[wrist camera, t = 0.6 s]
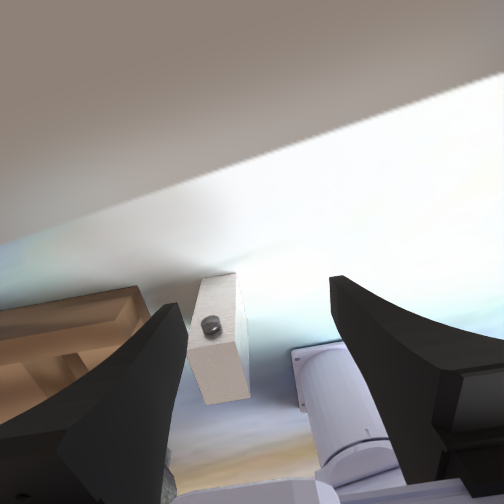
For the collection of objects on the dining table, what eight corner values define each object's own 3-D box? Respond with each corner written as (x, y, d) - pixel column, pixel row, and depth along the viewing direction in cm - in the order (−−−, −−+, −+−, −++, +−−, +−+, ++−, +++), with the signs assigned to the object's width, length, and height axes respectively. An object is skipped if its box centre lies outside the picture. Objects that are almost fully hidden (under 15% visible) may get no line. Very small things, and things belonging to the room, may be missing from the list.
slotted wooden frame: (176, 375, 27) (164, 418, 23) (27, 400, 28) (-9, 447, 24) (137, 285, 22) (114, 320, 18) (-40, 318, 23) (-100, 358, 19)
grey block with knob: (248, 322, 25) (252, 402, 18) (217, 328, 25) (207, 410, 18) (235, 267, 22) (233, 334, 15) (200, 274, 22) (181, 343, 15)
